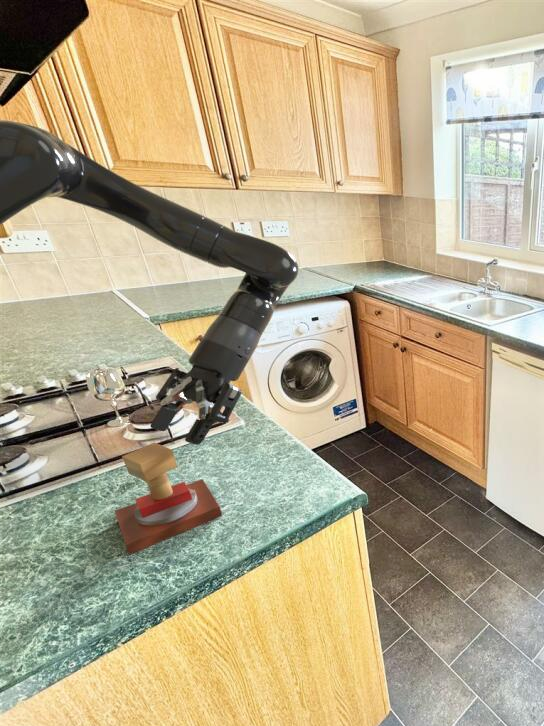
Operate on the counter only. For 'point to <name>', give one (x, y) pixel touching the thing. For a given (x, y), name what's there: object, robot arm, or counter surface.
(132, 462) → the stamp
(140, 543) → the stamp stand
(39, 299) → the counter surface
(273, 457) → the counter surface
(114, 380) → the wineglass
